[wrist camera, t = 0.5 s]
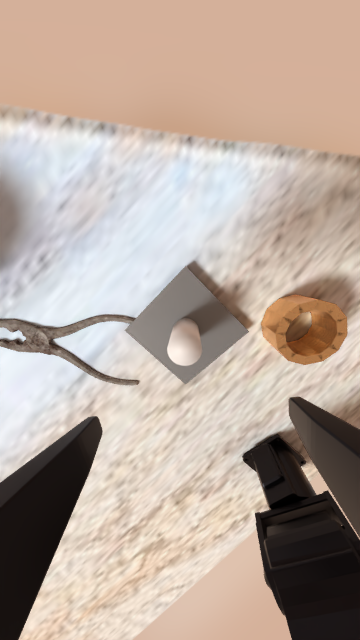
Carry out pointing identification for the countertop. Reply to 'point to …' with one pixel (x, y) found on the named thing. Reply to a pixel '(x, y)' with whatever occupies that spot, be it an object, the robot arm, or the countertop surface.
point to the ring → (320, 337)
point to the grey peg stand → (186, 327)
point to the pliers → (41, 342)
